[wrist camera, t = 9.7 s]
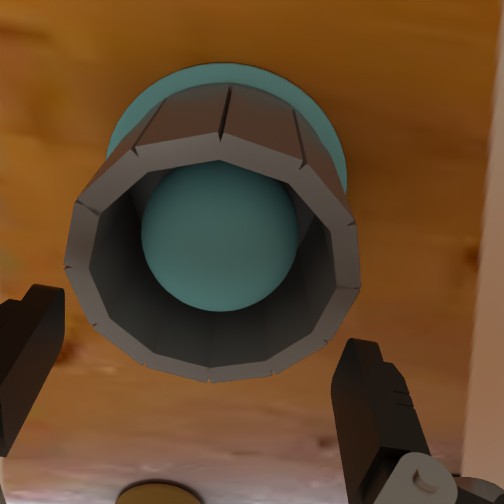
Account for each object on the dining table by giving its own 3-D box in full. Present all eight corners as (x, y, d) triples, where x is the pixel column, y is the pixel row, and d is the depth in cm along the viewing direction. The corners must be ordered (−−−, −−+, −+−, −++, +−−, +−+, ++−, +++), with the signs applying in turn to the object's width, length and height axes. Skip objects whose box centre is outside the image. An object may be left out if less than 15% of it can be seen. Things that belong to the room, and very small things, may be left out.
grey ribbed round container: (391, 200, 22) (443, 294, 16) (219, 317, 26) (206, 431, 20) (237, -1, 18) (226, 20, 12) (57, 174, 22) (-24, 260, 16)
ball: (321, 207, 21) (340, 286, 16) (220, 279, 23) (209, 369, 18) (231, 102, 19) (220, 154, 14) (128, 192, 21) (86, 267, 16)
